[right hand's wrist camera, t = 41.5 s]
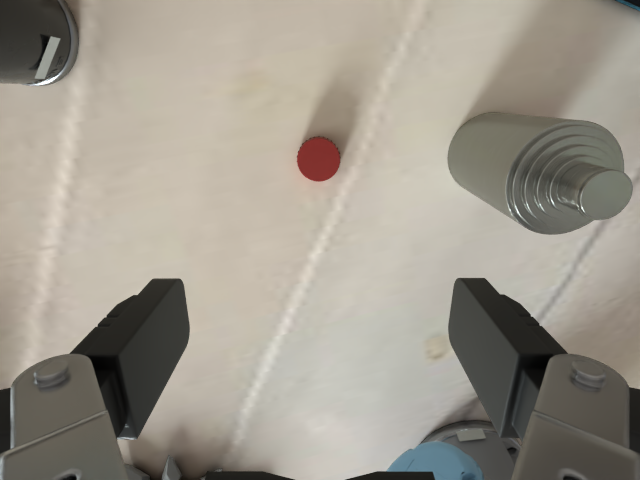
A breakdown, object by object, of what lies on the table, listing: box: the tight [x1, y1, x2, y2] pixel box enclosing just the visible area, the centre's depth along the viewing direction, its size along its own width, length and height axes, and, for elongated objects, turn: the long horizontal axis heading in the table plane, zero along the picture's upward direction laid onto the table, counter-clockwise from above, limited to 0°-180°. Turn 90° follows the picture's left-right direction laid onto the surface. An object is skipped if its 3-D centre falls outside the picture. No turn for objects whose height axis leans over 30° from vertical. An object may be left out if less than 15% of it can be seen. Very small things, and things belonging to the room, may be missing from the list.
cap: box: [297, 137, 340, 181], centre depth 38 cm, size 4×4×2 cm
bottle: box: [448, 112, 632, 235], centre depth 31 cm, size 8×8×17 cm
